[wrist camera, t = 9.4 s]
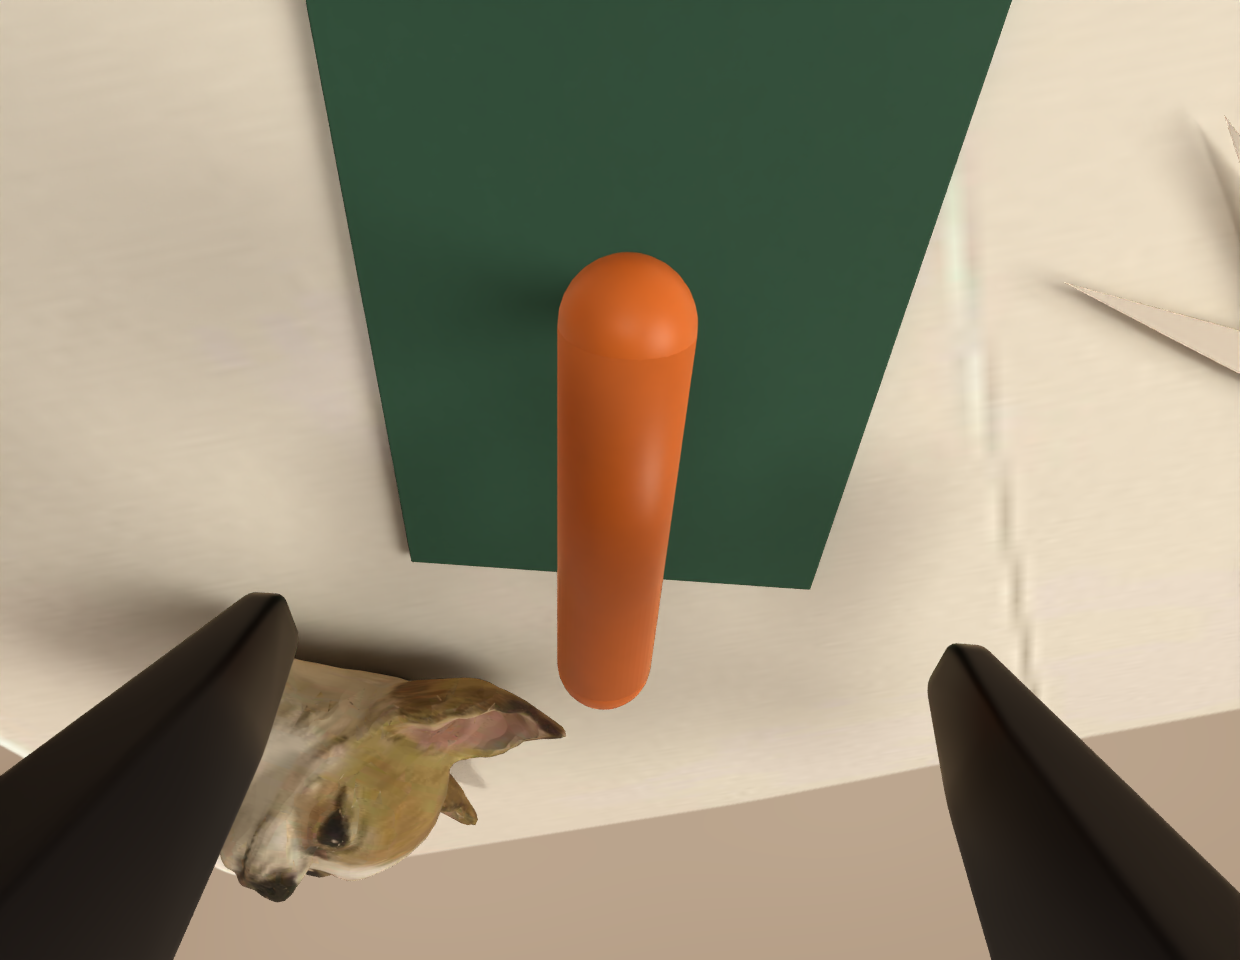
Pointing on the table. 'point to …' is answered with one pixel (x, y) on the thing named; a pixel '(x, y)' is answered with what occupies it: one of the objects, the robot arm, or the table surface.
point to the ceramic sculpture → (365, 771)
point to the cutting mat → (642, 240)
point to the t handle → (617, 466)
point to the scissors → (1184, 318)
